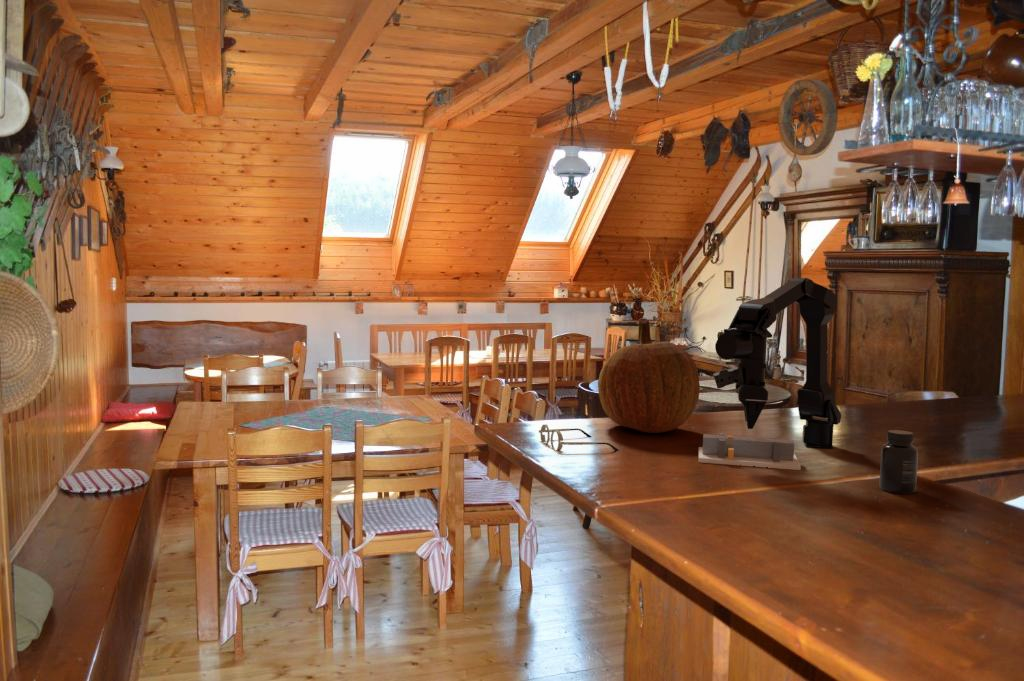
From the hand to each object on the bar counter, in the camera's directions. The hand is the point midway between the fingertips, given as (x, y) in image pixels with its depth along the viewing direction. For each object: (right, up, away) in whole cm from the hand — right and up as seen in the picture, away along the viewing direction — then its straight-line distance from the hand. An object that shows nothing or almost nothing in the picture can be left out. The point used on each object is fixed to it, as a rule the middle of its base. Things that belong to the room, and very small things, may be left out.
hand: (748, 425), depth 191 cm
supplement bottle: (+24, -11, -22) cm, 34 cm away
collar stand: (0, -8, +1) cm, 8 cm away
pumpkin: (-19, -5, +33) cm, 38 cm away
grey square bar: (0, -7, +1) cm, 7 cm away
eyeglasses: (-39, -7, +12) cm, 41 cm away
